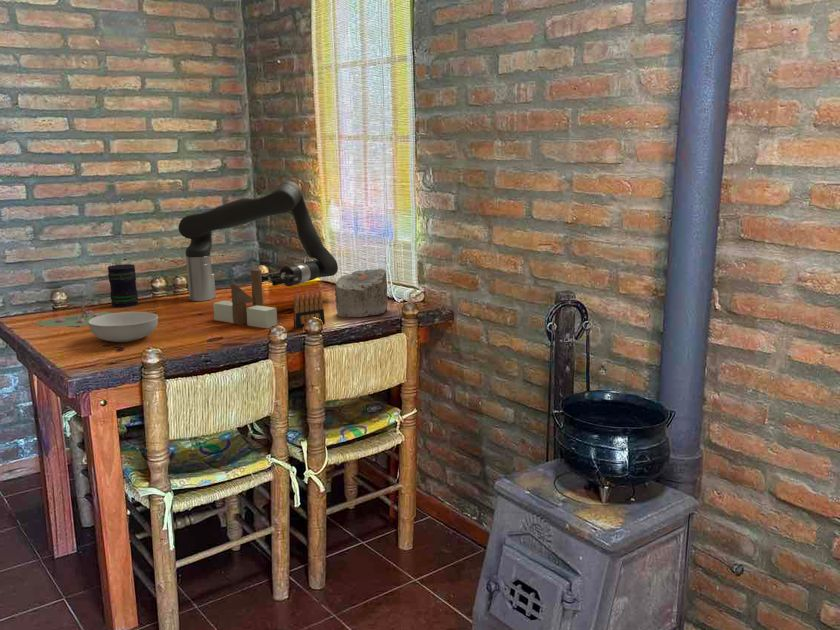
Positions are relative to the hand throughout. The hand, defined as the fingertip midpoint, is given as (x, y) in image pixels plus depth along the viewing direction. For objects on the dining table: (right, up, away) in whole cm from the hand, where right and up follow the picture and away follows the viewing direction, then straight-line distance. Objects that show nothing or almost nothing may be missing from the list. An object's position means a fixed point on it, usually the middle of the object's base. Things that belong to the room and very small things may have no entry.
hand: (263, 281), depth 279 cm
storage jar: (-58, -8, +26) cm, 64 cm away
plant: (-67, -14, +2) cm, 69 cm away
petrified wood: (+34, -11, +7) cm, 36 cm away
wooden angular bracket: (-4, -14, -4) cm, 15 cm away
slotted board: (-5, -14, -5) cm, 16 cm away
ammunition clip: (+17, -15, -11) cm, 26 cm away
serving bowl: (-40, -20, -24) cm, 50 cm away
